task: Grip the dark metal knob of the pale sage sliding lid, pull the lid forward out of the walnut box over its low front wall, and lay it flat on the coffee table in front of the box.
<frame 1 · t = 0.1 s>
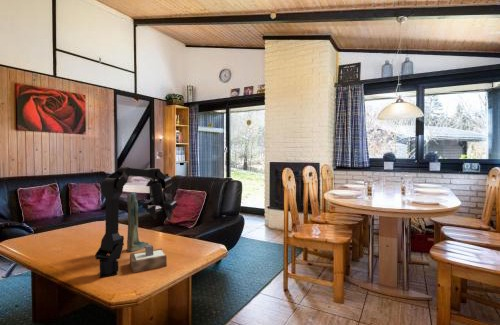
hand: (162, 219, 151), 15 cm above the table, tool pointing down, fingers open, 9 cm apart
cover: (149, 256, 129), point 3 cm above the table, touching box
box: (148, 264, 129), on the table
statue: (136, 248, 153), on the table
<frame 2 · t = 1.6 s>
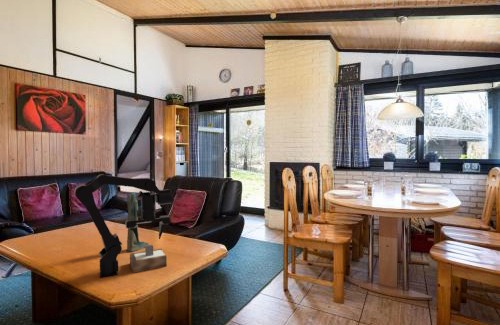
hand: (148, 240, 129), 11 cm above the table, tool pointing down, fingers open, 9 cm apart
nothing on the table moved.
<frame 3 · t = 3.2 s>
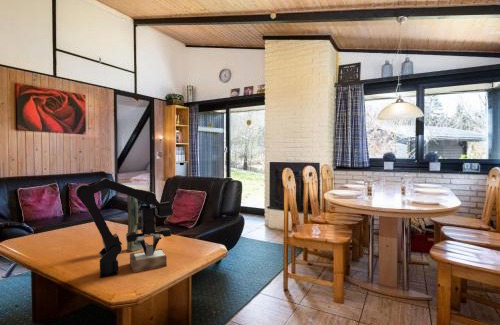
hand: (149, 253, 129), 5 cm above the table, tool pointing down, fingers closed on cover, 3 cm apart
cover: (149, 256, 129), point 3 cm above the table, touching box, gripper
everything else where it was.
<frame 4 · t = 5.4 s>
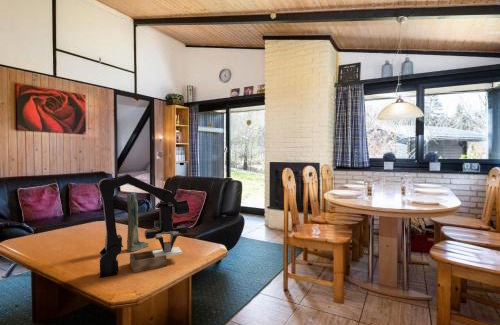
hand: (167, 250, 133), 5 cm above the table, tool pointing down, fingers closed on cover, 3 cm apart
cover: (167, 253, 133), point 4 cm above the table, touching gripper
everything else where it was.
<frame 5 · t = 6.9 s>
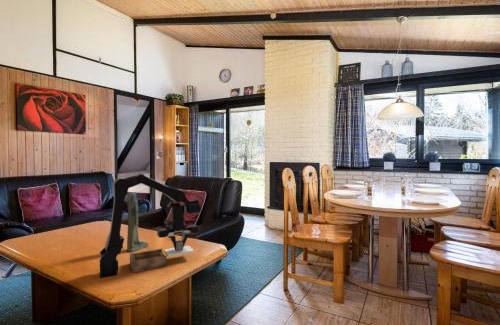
hand: (178, 248, 135), 5 cm above the table, tool pointing down, fingers closed on cover, 3 cm apart
cover: (179, 252, 135), point 3 cm above the table, touching gripper
everything else where it was.
when the fingers open (3 cm above the table, at t = 7.9 s): cover drops 2 cm, on the table.
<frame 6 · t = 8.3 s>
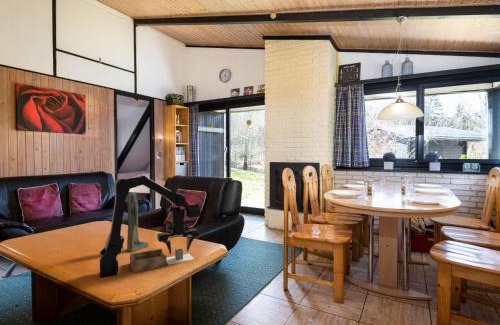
hand: (179, 252, 135), 3 cm above the table, tool pointing down, fingers open, 8 cm apart
cover: (179, 260, 135), on the table
everything else where it was.
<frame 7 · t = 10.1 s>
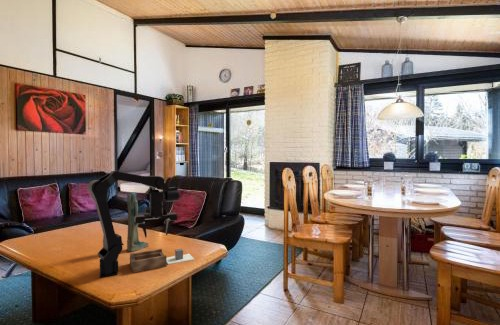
hand: (156, 236, 134), 11 cm above the table, tool pointing down, fingers open, 9 cm apart
nothing on the table moved.
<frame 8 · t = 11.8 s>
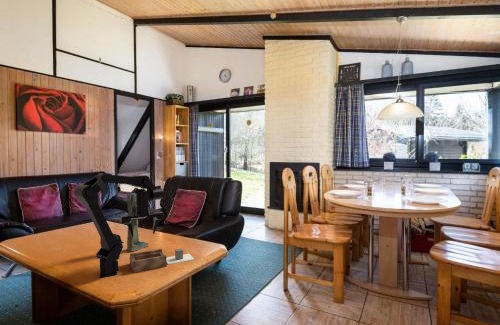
hand: (143, 235, 133), 12 cm above the table, tool pointing down, fingers open, 9 cm apart
nothing on the table moved.
at the end: cover inside the target area (0.0 cm from its centre), on the table; cover tilted 0°; cover touching table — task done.
